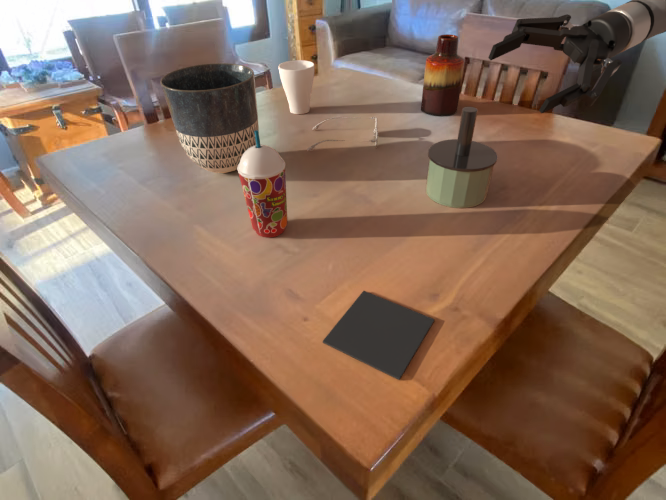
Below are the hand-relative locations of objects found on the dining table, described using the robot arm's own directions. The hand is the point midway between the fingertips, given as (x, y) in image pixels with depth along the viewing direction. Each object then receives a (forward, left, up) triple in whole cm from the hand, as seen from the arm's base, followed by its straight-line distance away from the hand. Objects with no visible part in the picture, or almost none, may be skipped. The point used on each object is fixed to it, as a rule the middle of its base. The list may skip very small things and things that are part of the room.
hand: (516, 78), depth 72 cm
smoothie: (+33, +29, -25) cm, 51 cm away
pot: (+7, -2, -25) cm, 26 cm away
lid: (+7, -2, -17) cm, 18 cm away
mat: (+3, +41, -25) cm, 48 cm away
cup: (+65, -25, -25) cm, 74 cm away
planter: (+59, +14, -25) cm, 66 cm away
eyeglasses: (+42, -13, -25) cm, 51 cm away
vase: (+28, -46, -25) cm, 60 cm away
